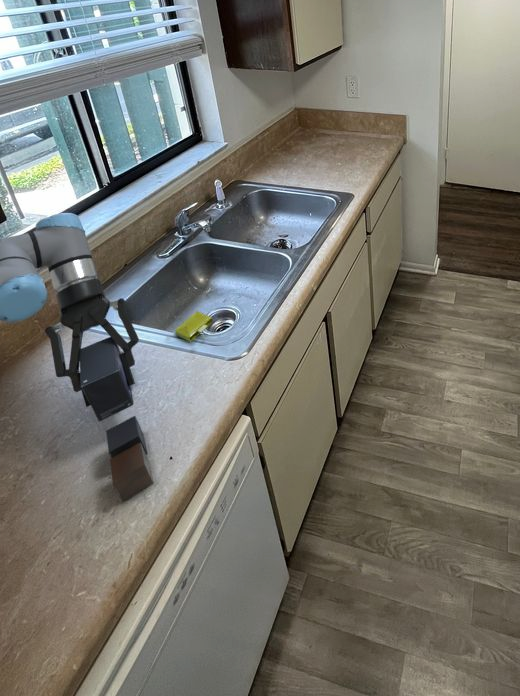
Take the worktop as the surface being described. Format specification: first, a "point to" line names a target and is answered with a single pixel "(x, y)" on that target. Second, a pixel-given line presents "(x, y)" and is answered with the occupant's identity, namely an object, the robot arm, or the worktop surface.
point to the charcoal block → (125, 437)
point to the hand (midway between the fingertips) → (111, 394)
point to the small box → (104, 378)
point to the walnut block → (131, 472)
